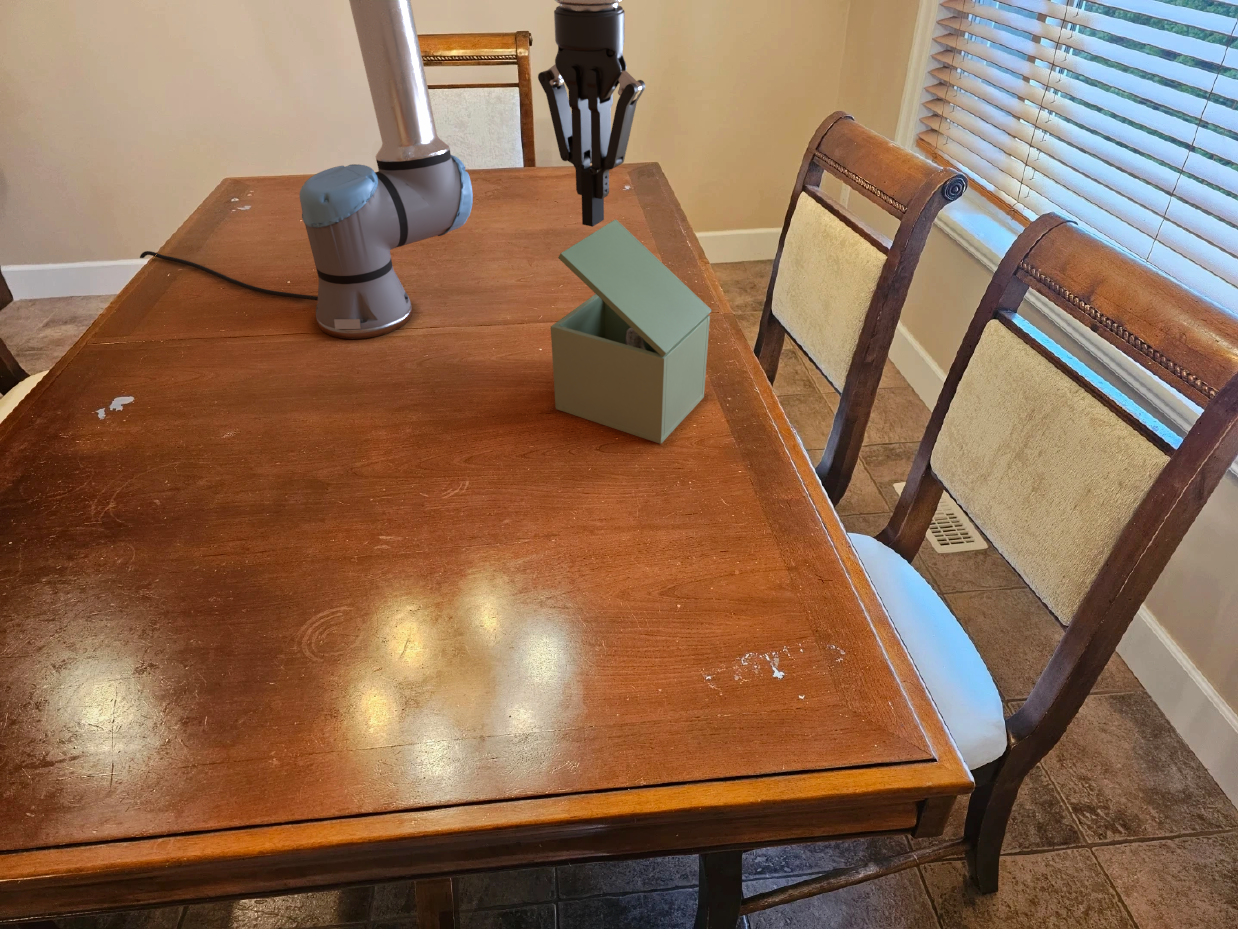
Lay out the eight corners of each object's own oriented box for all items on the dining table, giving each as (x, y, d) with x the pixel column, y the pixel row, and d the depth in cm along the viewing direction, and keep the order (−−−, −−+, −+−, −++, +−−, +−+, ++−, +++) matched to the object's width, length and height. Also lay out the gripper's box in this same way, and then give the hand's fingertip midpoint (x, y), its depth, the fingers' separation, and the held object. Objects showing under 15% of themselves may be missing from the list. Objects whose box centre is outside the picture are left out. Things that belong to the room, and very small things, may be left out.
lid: (557, 257, 96) (560, 252, 95) (612, 223, 105) (615, 218, 104) (662, 357, 96) (666, 353, 95) (708, 314, 105) (712, 310, 104)
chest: (555, 409, 110) (550, 326, 103) (604, 367, 119) (602, 288, 112) (660, 444, 104) (664, 358, 96) (704, 397, 113) (710, 315, 105)
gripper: (660, 4, 84) (653, 222, 99) (557, -5, 89) (565, 203, 104) (624, 14, 79) (623, 242, 94) (518, 4, 84) (532, 221, 99)
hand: (593, 221), depth 99 cm, fingers closed
